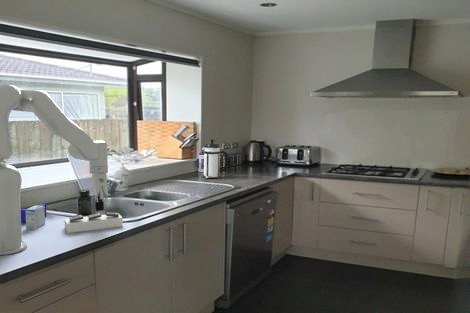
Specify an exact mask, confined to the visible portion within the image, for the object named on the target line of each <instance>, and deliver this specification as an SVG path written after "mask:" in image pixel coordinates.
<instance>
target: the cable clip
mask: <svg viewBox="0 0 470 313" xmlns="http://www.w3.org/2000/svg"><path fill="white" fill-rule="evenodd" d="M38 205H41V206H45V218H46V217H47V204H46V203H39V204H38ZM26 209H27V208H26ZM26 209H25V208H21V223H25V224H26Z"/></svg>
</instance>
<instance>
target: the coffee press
mask: <svg viewBox="0 0 470 313" xmlns="http://www.w3.org/2000/svg"><path fill="white" fill-rule="evenodd" d="M214 141H215V140H214V139H211V140H210V142H206V143H204V145H203V147H202V149H201V150H202V151H203V175H202V177H203V178H205V180H209V178H217V179H218V180H220V179H221V177H220V173H222V172H225V171H226V170H227V169H228V162H229V155H228V153H227V151H224V150H221V145H220V144H219V143H218V142H214ZM221 154H223V155H224V158H225V159H224V161H225V162H224V168H222V169H220V168H221V167H220V166H221V164H220V160H221V159H220V158H221V156H220V155H221Z"/></svg>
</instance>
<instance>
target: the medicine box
mask: <svg viewBox="0 0 470 313" xmlns="http://www.w3.org/2000/svg"><path fill="white" fill-rule="evenodd" d="M45 218H46V217H45V206H41V205H39V204H38V205H33V206H31V207H29V208H26V223H25V229H26V230H37V229H39V228H40V227H41V226H44V225H45V224H46V219H45Z"/></svg>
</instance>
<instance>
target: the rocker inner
mask: <svg viewBox="0 0 470 313" xmlns="http://www.w3.org/2000/svg"><path fill="white" fill-rule="evenodd" d="M83 217H84V216H82V215H75V216H72V217H71V216H70V217H69V218H68V219H69V220H70V222H73V221H77V220H81V219H83Z"/></svg>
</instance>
